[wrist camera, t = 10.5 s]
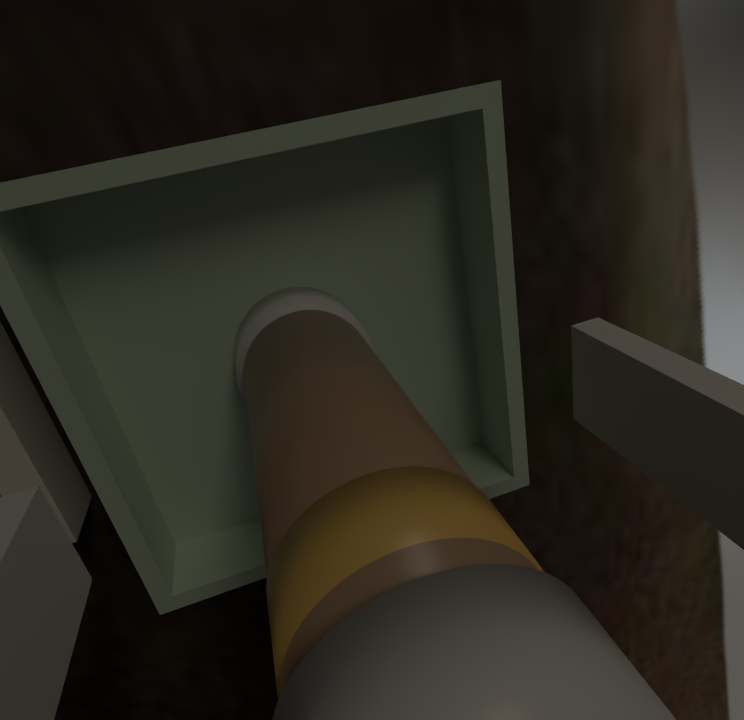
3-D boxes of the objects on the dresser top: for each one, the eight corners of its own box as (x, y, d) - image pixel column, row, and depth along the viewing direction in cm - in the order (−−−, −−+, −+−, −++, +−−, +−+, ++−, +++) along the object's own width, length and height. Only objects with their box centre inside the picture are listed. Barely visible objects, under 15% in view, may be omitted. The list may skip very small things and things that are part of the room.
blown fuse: (254, 420, 19) (349, 1086, 6) (216, 306, 17) (225, 892, 4) (371, 385, 20) (700, 900, 6) (347, 272, 18) (739, 662, 4)
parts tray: (-7, 184, 15) (-57, 194, 12) (454, 89, 17) (500, 80, 14) (166, 551, 21) (159, 615, 18) (491, 443, 23) (529, 484, 20)
